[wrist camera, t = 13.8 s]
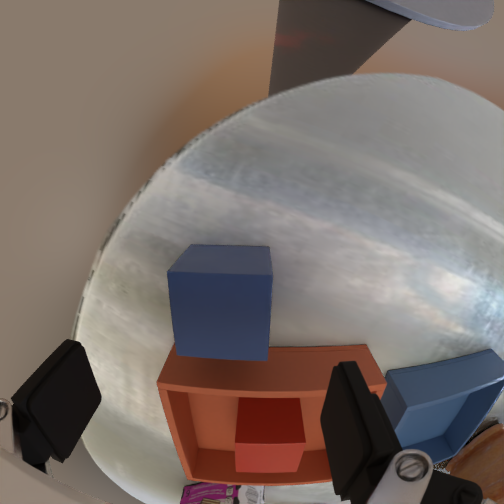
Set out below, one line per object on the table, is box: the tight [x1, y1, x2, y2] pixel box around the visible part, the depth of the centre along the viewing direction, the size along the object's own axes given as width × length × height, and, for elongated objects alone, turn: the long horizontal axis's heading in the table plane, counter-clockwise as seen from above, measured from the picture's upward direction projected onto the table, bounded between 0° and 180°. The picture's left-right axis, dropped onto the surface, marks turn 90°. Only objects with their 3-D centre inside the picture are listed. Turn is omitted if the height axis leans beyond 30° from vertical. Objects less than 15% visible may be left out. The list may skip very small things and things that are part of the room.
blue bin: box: [380, 349, 504, 465], centre depth 19 cm, size 14×14×5 cm
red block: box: [235, 397, 306, 473], centre depth 18 cm, size 5×5×5 cm
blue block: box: [167, 244, 273, 361], centre depth 15 cm, size 5×5×5 cm
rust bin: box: [157, 342, 387, 486], centre depth 19 cm, size 14×14×5 cm
